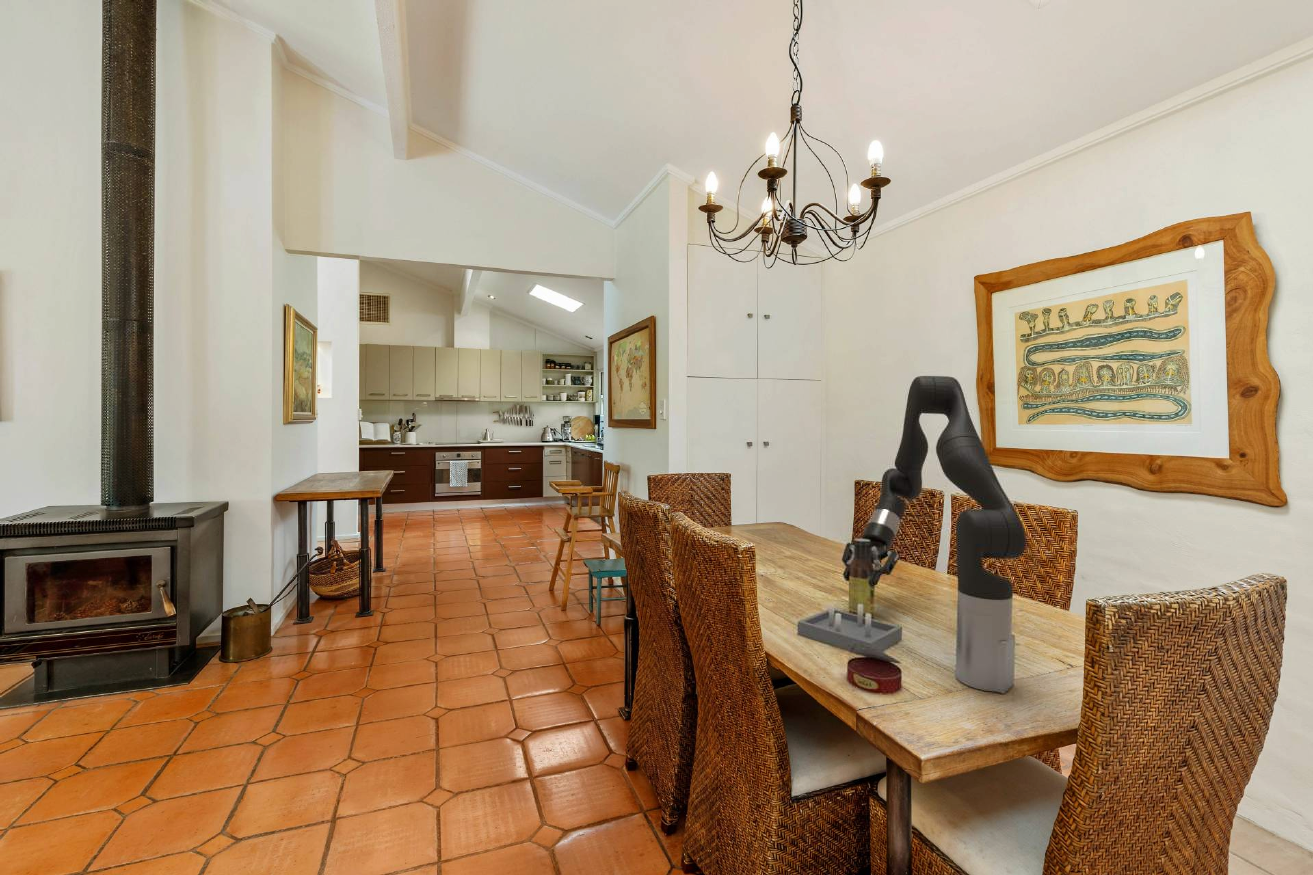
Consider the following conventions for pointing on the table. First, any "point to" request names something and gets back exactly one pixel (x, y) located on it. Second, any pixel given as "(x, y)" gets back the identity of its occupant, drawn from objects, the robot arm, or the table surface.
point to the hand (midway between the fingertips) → (858, 581)
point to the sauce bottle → (861, 579)
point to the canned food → (873, 670)
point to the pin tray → (849, 629)
